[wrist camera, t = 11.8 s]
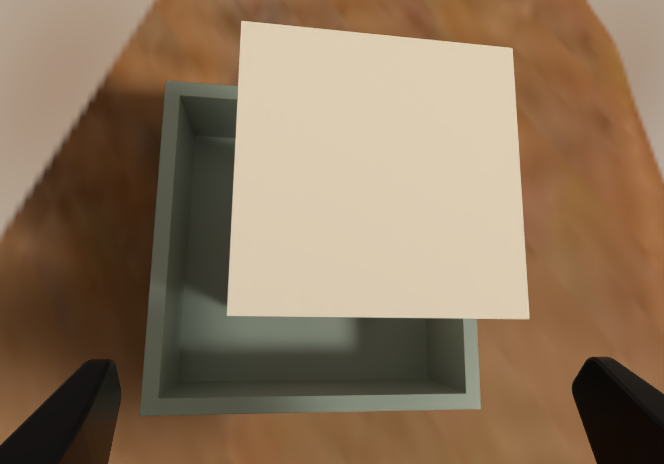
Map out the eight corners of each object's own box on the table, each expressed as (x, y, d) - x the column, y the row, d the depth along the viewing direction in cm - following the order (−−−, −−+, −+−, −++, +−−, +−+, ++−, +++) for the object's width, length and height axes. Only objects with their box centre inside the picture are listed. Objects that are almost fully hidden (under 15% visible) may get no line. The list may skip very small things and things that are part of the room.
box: (435, 389, 20) (480, 408, 16) (166, 393, 18) (139, 415, 14) (427, 144, 22) (467, 104, 18) (184, 128, 20) (165, 80, 16)
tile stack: (369, 317, 20) (529, 319, 8) (247, 315, 19) (226, 315, 7) (368, 200, 20) (512, 48, 9) (252, 195, 20) (241, 21, 8)
